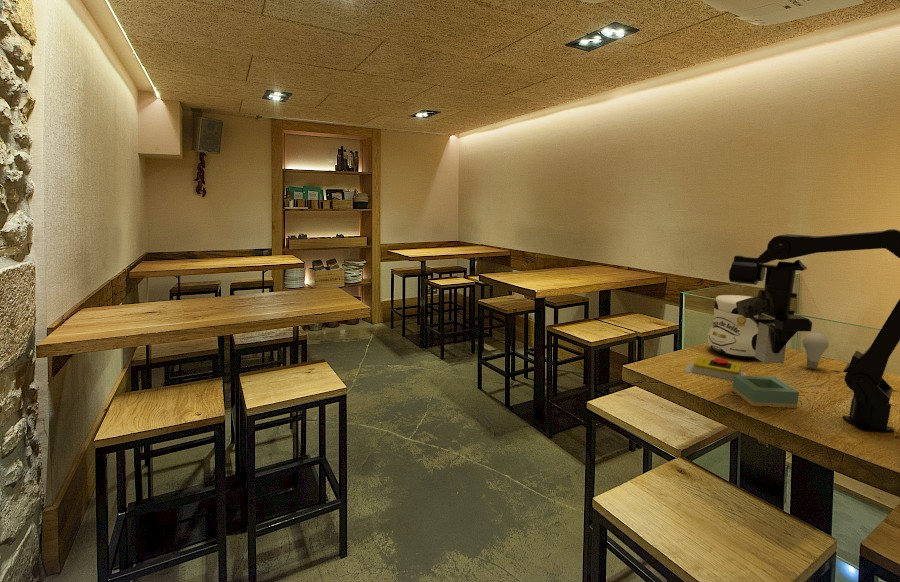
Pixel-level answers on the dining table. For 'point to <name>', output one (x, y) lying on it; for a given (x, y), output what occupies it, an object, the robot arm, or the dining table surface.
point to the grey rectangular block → (767, 345)
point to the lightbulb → (814, 348)
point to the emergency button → (715, 368)
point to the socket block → (765, 391)
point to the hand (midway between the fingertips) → (770, 350)
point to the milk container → (732, 329)
